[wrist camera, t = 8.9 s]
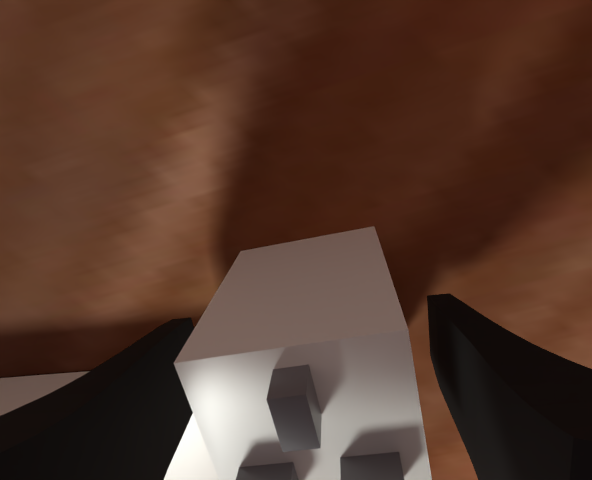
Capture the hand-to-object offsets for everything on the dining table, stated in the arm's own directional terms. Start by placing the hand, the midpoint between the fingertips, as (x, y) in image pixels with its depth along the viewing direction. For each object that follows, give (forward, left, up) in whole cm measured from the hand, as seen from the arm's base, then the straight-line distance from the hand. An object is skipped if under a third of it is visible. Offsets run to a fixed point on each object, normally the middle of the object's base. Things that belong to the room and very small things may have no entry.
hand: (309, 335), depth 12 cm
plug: (0, 0, -2) cm, 2 cm away
